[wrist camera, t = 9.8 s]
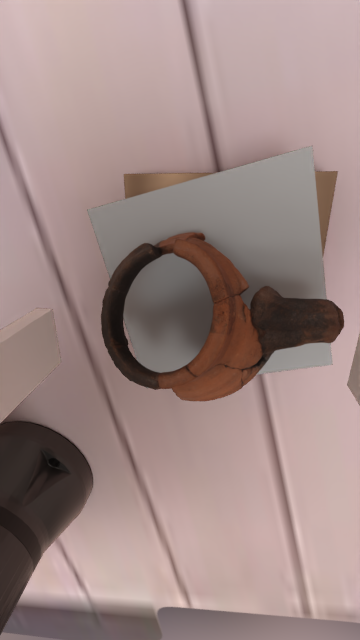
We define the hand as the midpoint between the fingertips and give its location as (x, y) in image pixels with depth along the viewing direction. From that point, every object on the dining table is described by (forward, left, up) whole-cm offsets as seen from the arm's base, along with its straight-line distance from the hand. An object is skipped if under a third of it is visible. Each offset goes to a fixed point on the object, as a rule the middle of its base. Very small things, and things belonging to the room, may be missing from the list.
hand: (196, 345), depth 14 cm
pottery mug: (+1, -1, -7) cm, 7 cm away
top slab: (0, 0, -11) cm, 11 cm away
